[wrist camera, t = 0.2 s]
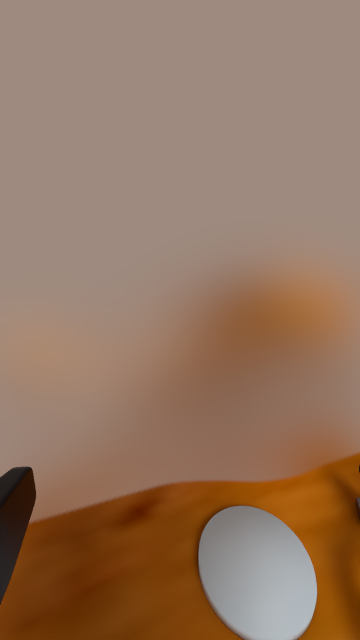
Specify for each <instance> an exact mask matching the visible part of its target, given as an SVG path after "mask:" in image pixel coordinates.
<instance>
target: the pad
mask: <svg viewBox="0 0 360 640" xmlns="http://www.w3.org/2000/svg"><path fill="white" fill-rule="evenodd" d="M198 567H199V576H200V580H201V584H202V587H203V590H204V593H205V595H206V598H207V600H208V602H209V604H210V605H211V607H212V609H213V610H214V612H215V613H216V615H217V616H218V617H219V619H220V620H221V621H222V622H223V623H224V624H225V625H226V626H227V627H228V628H229V629H230V630H231V631H232V632H234V633H235V634H236V635H237V636H239V637H241V638H242V639H244V640H297V639H298V638H300V637H301V636H302V635H303V634H304V632H305V631H306V629H307V628H308V626H309V624H310V622H311V620H312V616H313V613H314V609H315V605H316V598H317V583H316V576H315V572H314V568H313V565H312V562H311V560H310V557H309V555H308V553H307V551H306V549H305V548H304V546H303V544H302V543H301V541H300V540H299V539H298V537H297V536H296V535H295V534H294V532H293V531H292V530H291V529H290V528H289V527H288V526H287V525H286V524H284V523H283V522H282V521H281V520H280V519H278V518H277V517H275V516H274V515H272V514H270V513H268V512H266V511H264V510H261V509H258V508H255V507H250V506H234V507H229V508H226V509H224V510H222V511H220V512H218V513H217V514H216V515H214V516H213V517H212V518H211V519H210V521H209V522H208V523H207V525H206V527H205V528H204V530H203V533H202V536H201V539H200V544H199V556H198Z"/></svg>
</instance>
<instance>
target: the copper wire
mask: <svg viewBox="0 0 360 640" xmlns="http://www.w3.org/2000/svg"><path fill="white" fill-rule="evenodd" d="M355 503H356V506H357V510H358V514H359V517H360V498H358V497H357V498H356V502H355Z"/></svg>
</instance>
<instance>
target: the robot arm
mask: <svg viewBox="0 0 360 640" xmlns="http://www.w3.org/2000/svg"><path fill="white" fill-rule="evenodd" d="M359 472H360V466H359ZM35 499H36V489H35V482H34V476H33V470H32V468H31V467H16V468H12V469H11V470H9V471H8V472H7V473H5V474H4V475H3V476H1V477H0V604H1V601H2V599H3V597H4V594H5V592H6V589H7V587H8V584H9V581H10V579H11V576H12V573H13V570H14V567H15V564H16V561H17V558H18V554H19V551H20V548H21V545H22V542H23V539H24V536H25V532H26V529H27V526H28V523H29V520H30V517H31V514H32V510H33V507H34V504H35Z"/></svg>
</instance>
